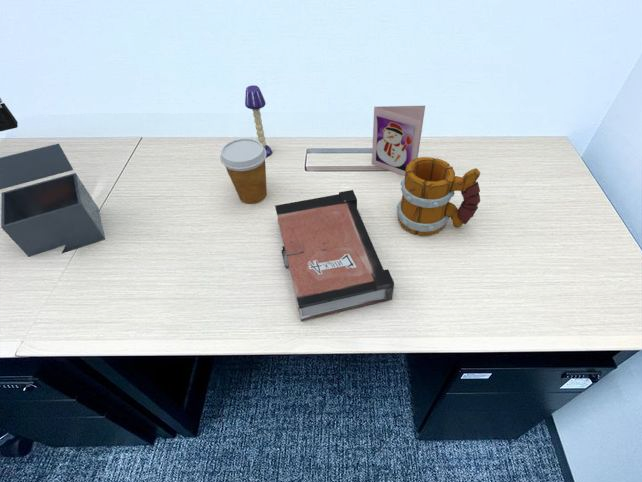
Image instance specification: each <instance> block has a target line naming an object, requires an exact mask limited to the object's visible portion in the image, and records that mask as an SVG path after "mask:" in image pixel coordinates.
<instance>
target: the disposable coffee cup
mask: <svg viewBox="0 0 642 482" xmlns="http://www.w3.org/2000/svg"><path fill="white" fill-rule="evenodd" d="M266 155H267V153H266V150H265V148H264V147H263V145H262V144H261V143H260V142H259V141H258V139H254V138H249V137H243V138H236V139H233V140H231V141H228V142H227V143H225V144H224V145H223V146H222V147H221V150H220V156H219V159H220V162H221V164H222V165H223V167H225V169H226V172H227V174H228V176H229V178H230V180H231V183H232V185H233V187H234V189H235V191H236V194H237V196H238V198H239V200H240V202H242V203H244V204H246V205H254V204H255V205H256V204H258V203H261V202H263V201H264V200H265V199H266V198H267V195H268V189H267V187H268V186H267V170H266V158H267V157H266Z"/></svg>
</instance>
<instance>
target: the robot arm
mask: <svg viewBox="0 0 642 482" xmlns="http://www.w3.org/2000/svg"><path fill="white" fill-rule="evenodd" d="M18 124H19V123H18V120H17V119H16V117H15V116H14V115H13V113H12V112H11V110H10V109H9V108H8V106H7V105H6V103H5V102H3V99H2V98H1V97H0V132H4V131H9V130H13V129H17V128H18V127H19V126H18Z"/></svg>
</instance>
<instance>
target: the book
mask: <svg viewBox="0 0 642 482" xmlns="http://www.w3.org/2000/svg"><path fill="white" fill-rule="evenodd" d="M274 207H275V212H276V213H275V214H276V217H277V224H278V227H279V231H280V236H281V240H282V244H283V245H282V247H281V248H282V249H281V254H282V261H283V264H284V267H285V268H286V269H288V270H289V275H290V278H291V279H290V280H291V282H292V287H293V292H294V296H295V301H296V303H297V307H298V312H299V316H300V320H301V321H300V322H304V321H309V320H313V319H317V318H321V317H326V316H330V315H334V314H338V313H342V312H343V313H344V312H347V311H350V310H355V309H360V308H364V307H368V306H372V305H376V304H380V303H384V302H388V301H389V302H390V301H392V300H393V296H394V289H395V281H394V279H393V277H392V275H391V272H390V270H389V269H388V268H387V269H384V267H383V265H382V263H381V261H380V258H379V256H378V254H377V251H376V249H375V246H374V245H373V242H372V240H371V237H370V235H369V233H368V230H367V228H366V225H365V224H364V221H363V219H362V217H361V215H360V212H359V210H358V198H357V196H356V194H355V191H354V189H350V190H344V191H339V192H338V194H332V195H326V196H321V197H315V198H310V199H304V200H298V201H291V202H287V203H286V202H285V203H281V204H277V205H276V204H275V205H274Z"/></svg>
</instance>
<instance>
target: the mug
mask: <svg viewBox="0 0 642 482" xmlns="http://www.w3.org/2000/svg"><path fill="white" fill-rule="evenodd" d="M480 175H481V171H480V170H479V169H478V168H476V167H475V168H472V169H469V170H468V171H467V172H465V173H464V174H463V176H458V175H456V172H455V170H454V167H453V166H452V165H450V163H448V161H446V160H444V159H441V158H437V157H436V158H435V157H430V156H429V157H427V156H422V157H418V158H416V159H414V160H413V161H410V162H409V163H408V164H407V166H406V170H405V176H403V179H401V181H400V186H401V188H400V190H401V194H402V195H401V199H400V200H399V202H398V203H397V204H396V209H397V211H396V213H397V215H396V216H397V221H398V224H399V225H400V227H401V228H402V229H404V230H405V231H406V232H409V234H413V235H418V236H422V237H423V236H425V237H429V236H433V235H436V234H438V233H440V232H441V231H443V229H444V228H445V226H446V224H447V222H448V220H450V219H451V222H452V226H453V227H455V228H461V227H462V226H463V225H467V223H468V222H469V221H471V219H472V218H473V217H474V215H475V213H476V212H477V211H478V209H479V204H480V203H481V195H480V192H481V189H480V185H479V182H478V181H477V180H478V179H479V177H480ZM455 192H460V194H461V196H462V199H463V200H462V201H461V203H460V206H459V207H457V206H456V205H455V203H453V202H450V201H451V199H452V198H454V196H455Z"/></svg>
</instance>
